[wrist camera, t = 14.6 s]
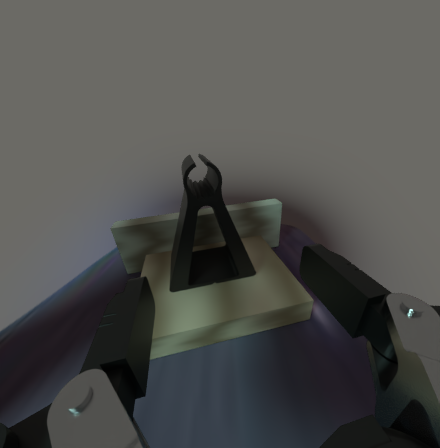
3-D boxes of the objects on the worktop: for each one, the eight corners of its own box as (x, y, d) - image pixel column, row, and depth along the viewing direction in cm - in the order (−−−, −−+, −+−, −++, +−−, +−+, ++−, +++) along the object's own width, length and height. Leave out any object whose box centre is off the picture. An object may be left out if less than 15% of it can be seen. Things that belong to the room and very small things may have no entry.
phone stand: (240, 245, 25) (237, 150, 20) (256, 275, 20) (258, 156, 14) (171, 257, 24) (148, 158, 18) (169, 293, 19) (136, 169, 13)
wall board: (92, 374, 15) (50, 314, 12) (130, 264, 27) (115, 221, 24) (337, 312, 18) (356, 252, 15) (272, 239, 30) (275, 198, 27)
